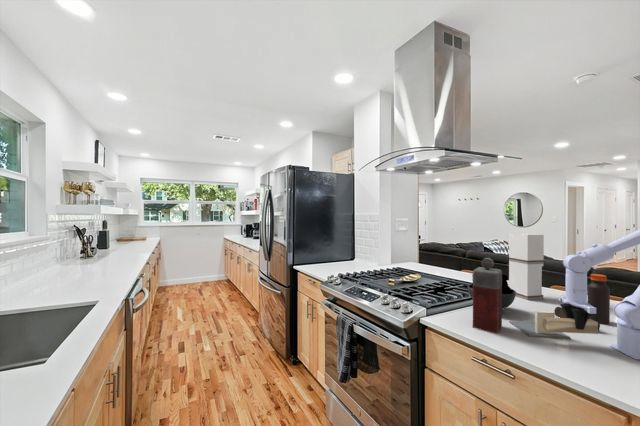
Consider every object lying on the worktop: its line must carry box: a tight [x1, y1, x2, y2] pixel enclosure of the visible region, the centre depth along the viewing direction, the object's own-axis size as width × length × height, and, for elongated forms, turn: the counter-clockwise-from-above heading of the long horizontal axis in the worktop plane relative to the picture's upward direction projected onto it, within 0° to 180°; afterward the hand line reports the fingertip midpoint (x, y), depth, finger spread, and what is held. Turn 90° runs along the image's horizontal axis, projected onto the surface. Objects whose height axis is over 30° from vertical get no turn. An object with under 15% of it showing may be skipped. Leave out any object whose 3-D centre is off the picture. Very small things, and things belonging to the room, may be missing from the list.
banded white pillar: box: [508, 232, 545, 301], centre depth 159 cm, size 11×11×35 cm
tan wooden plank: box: [542, 317, 599, 335], centre depth 101 cm, size 3×16×4 cm, turn 83°
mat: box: [509, 320, 571, 340], centre depth 112 cm, size 14×14×1 cm
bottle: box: [587, 273, 611, 325], centre depth 122 cm, size 7×7×20 cm
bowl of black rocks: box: [467, 268, 517, 310], centre depth 137 cm, size 20×20×19 cm
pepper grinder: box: [472, 257, 503, 334], centre depth 116 cm, size 9×11×28 cm
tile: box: [534, 310, 555, 334], centre depth 108 cm, size 2×6×8 cm, turn 83°
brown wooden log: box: [554, 306, 601, 332], centre depth 120 cm, size 19×4×5 cm, turn 179°
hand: (575, 327), depth 101 cm, fingers closed on tan wooden plank, 3 cm apart
